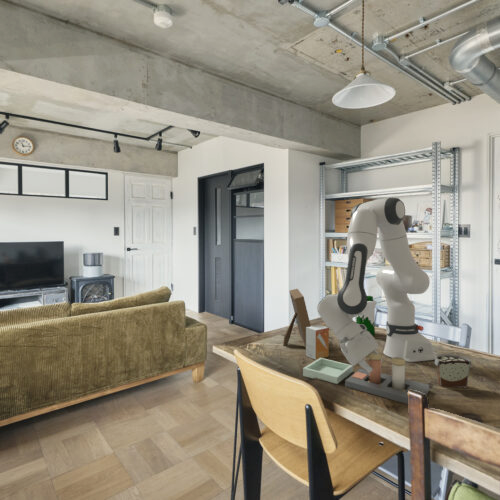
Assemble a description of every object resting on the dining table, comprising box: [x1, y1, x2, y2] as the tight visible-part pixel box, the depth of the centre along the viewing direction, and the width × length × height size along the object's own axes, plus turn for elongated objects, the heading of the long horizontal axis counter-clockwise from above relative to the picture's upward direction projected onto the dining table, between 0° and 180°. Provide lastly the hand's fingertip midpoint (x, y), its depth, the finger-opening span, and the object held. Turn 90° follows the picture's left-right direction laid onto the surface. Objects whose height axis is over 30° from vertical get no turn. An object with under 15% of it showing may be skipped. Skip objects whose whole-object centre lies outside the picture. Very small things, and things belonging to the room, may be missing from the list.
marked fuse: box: [367, 352, 383, 385], centre depth 125 cm, size 4×4×11 cm
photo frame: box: [282, 288, 312, 348], centre depth 175 cm, size 15×22×25 cm
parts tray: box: [302, 357, 354, 385], centre depth 136 cm, size 14×14×3 cm
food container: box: [434, 353, 472, 388], centre depth 126 cm, size 12×6×10 cm, turn 92°
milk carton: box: [355, 295, 377, 336], centre depth 187 cm, size 9×9×20 cm
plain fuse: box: [390, 357, 406, 391], centre depth 120 cm, size 4×4×11 cm
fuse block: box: [344, 367, 430, 405], centre depth 122 cm, size 24×14×3 cm, turn 51°
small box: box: [305, 324, 330, 361], centre depth 156 cm, size 8×6×13 cm
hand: (376, 367), depth 124 cm, fingers open, 8 cm apart
